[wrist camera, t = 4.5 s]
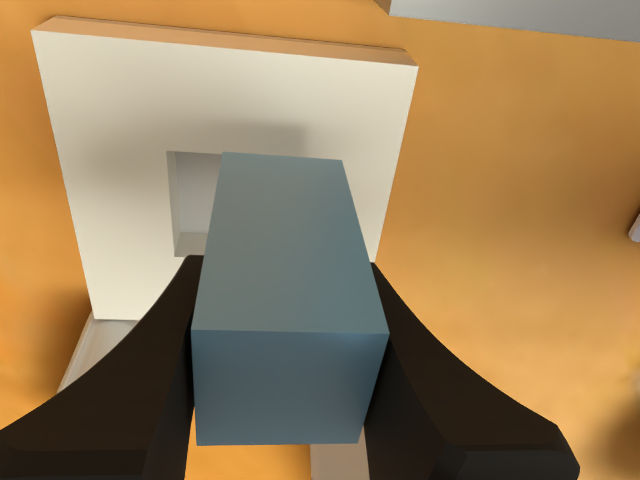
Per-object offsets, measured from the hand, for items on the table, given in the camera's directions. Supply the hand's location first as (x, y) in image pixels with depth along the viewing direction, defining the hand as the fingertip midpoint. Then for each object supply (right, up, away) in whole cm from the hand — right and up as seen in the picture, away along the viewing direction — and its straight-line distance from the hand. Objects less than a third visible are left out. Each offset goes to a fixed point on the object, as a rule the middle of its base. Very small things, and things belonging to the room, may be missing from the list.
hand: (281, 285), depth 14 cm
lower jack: (-3, +4, +10) cm, 11 cm away
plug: (0, +2, +3) cm, 4 cm away
